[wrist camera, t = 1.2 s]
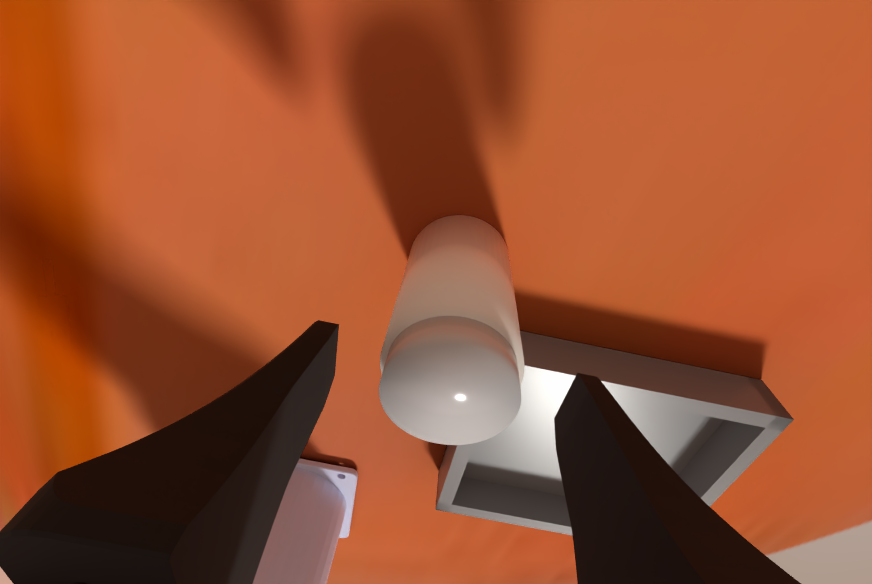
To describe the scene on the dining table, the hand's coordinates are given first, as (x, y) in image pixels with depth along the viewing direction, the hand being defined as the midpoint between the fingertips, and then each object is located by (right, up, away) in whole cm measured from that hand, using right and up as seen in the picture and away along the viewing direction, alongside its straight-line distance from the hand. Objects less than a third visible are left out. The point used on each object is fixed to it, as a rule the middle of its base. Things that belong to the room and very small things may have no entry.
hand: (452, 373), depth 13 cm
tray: (+8, -5, +11) cm, 15 cm away
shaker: (+1, +4, +6) cm, 7 cm away
